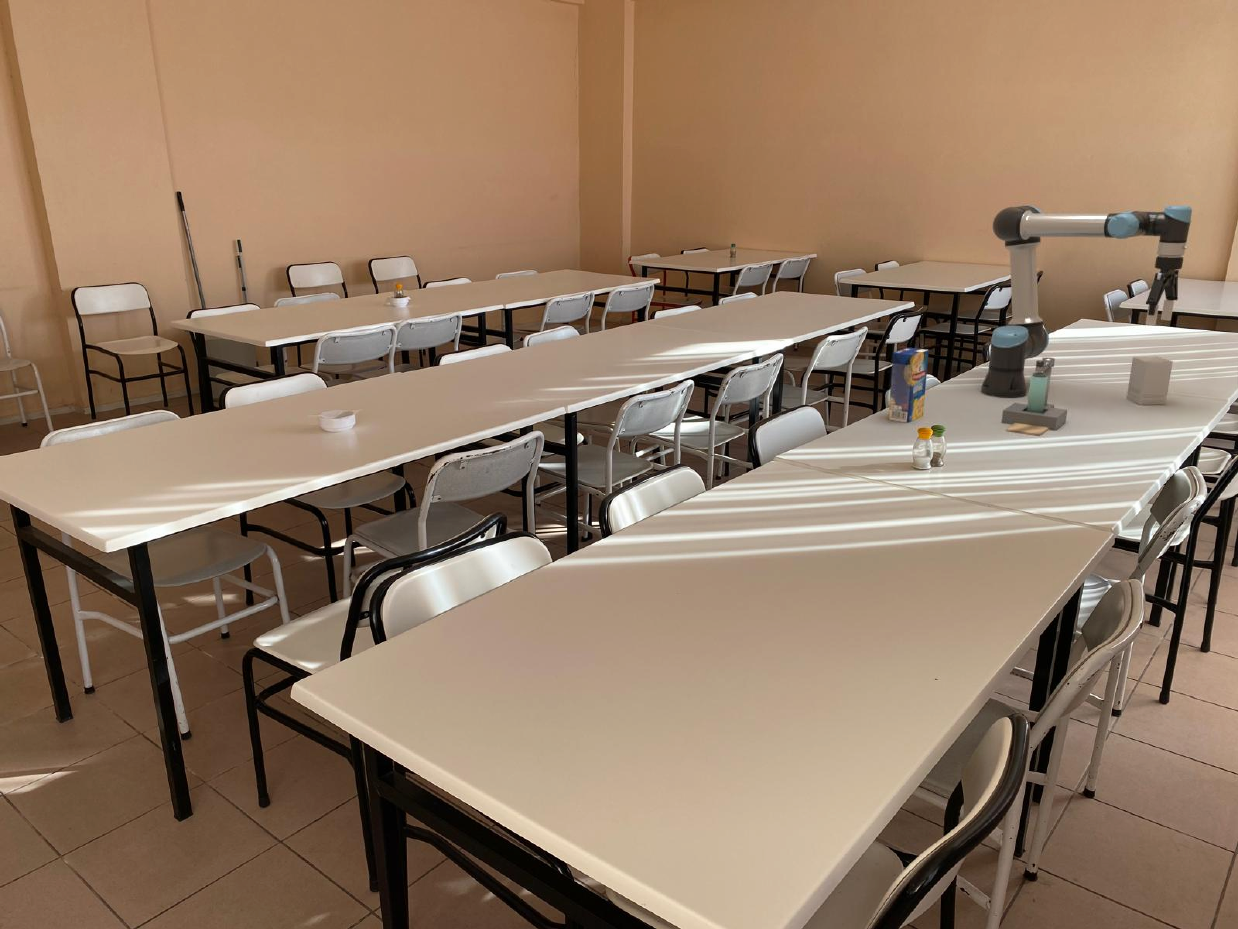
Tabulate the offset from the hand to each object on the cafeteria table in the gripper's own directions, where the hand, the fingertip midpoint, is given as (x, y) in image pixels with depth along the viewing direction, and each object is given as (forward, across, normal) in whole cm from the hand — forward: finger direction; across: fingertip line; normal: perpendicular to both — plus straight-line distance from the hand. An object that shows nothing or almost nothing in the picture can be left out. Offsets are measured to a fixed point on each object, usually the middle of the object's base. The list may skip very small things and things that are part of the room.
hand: (1158, 322), depth 290 cm
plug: (+28, -45, +16) cm, 55 cm away
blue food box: (+29, -67, +48) cm, 88 cm away
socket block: (+28, -43, +17) cm, 54 cm away
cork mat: (+28, -55, +14) cm, 63 cm away
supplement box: (+28, +6, +1) cm, 29 cm away
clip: (+12, -41, +17) cm, 46 cm away
